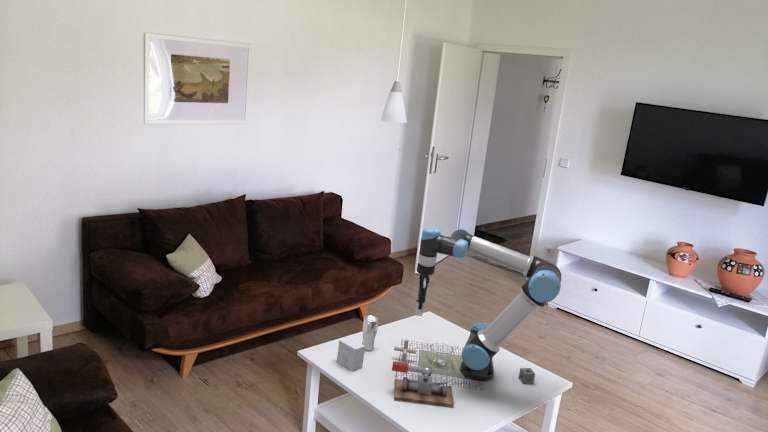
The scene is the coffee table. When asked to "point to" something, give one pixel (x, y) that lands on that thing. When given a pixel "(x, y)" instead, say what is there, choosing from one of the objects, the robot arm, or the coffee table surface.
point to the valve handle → (411, 368)
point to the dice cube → (526, 375)
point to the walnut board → (422, 396)
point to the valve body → (424, 386)
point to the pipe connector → (405, 349)
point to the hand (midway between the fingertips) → (418, 315)
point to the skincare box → (350, 353)
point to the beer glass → (369, 332)
